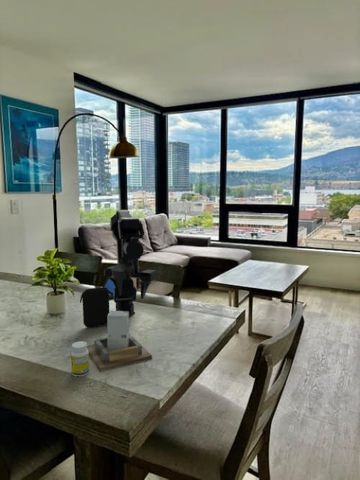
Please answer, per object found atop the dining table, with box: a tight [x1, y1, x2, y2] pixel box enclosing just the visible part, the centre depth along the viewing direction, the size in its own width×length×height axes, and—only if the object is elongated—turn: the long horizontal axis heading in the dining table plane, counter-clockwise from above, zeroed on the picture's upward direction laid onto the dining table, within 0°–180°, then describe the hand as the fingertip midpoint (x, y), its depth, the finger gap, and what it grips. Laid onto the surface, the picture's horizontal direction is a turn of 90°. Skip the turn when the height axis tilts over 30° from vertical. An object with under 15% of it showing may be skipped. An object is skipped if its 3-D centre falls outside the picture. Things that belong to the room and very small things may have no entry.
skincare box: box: [106, 310, 130, 352], centre depth 110 cm, size 6×4×12 cm
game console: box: [101, 277, 115, 301], centre depth 171 cm, size 16×14×9 cm
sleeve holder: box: [87, 333, 153, 372], centre depth 111 cm, size 16×16×4 cm
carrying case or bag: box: [79, 286, 110, 329], centre depth 132 cm, size 11×3×15 cm, turn 115°
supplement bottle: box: [70, 340, 90, 377], centre depth 99 cm, size 5×5×8 cm
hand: (130, 297), depth 126 cm, fingers open, 9 cm apart
